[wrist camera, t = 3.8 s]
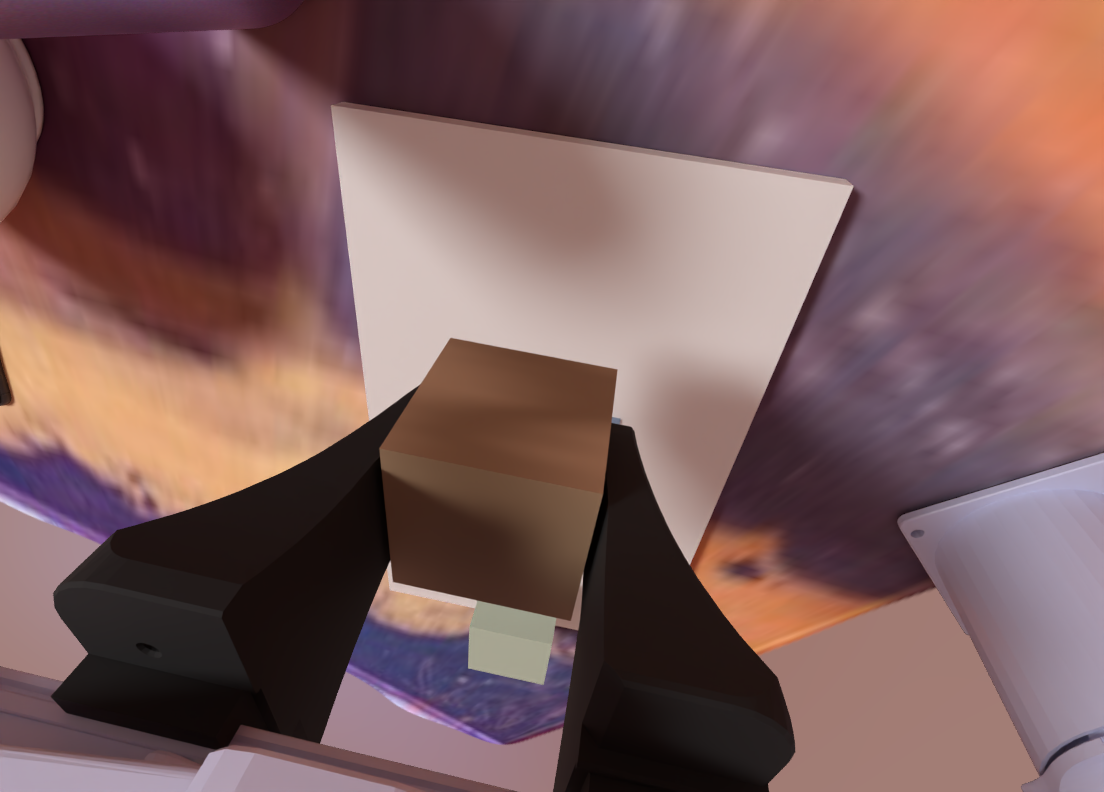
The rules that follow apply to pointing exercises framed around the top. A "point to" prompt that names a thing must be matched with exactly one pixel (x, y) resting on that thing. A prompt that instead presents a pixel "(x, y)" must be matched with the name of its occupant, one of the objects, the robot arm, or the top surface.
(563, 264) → the white flat panel
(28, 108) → the lidded bowl
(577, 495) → the walnut block
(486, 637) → the sage block
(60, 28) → the beverage can
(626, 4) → the top surface
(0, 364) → the smartphone
